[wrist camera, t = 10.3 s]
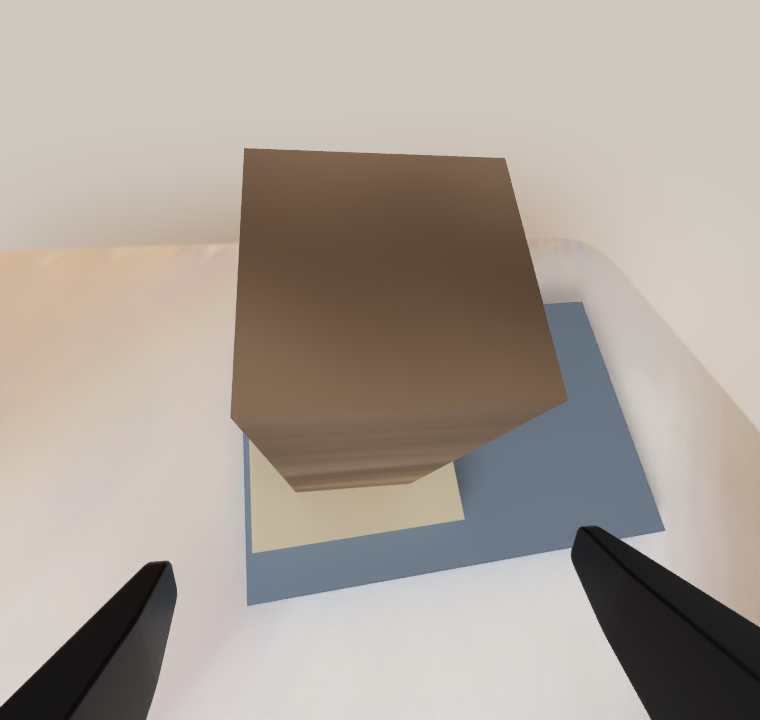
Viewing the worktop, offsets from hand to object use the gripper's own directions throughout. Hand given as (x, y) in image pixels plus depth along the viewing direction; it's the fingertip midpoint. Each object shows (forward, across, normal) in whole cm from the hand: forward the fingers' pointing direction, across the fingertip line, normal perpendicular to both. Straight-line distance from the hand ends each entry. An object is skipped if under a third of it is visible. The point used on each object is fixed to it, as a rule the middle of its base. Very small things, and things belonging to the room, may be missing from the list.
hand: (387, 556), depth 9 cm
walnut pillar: (+10, 0, +3) cm, 10 cm away
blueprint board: (+12, -5, +4) cm, 13 cm away
